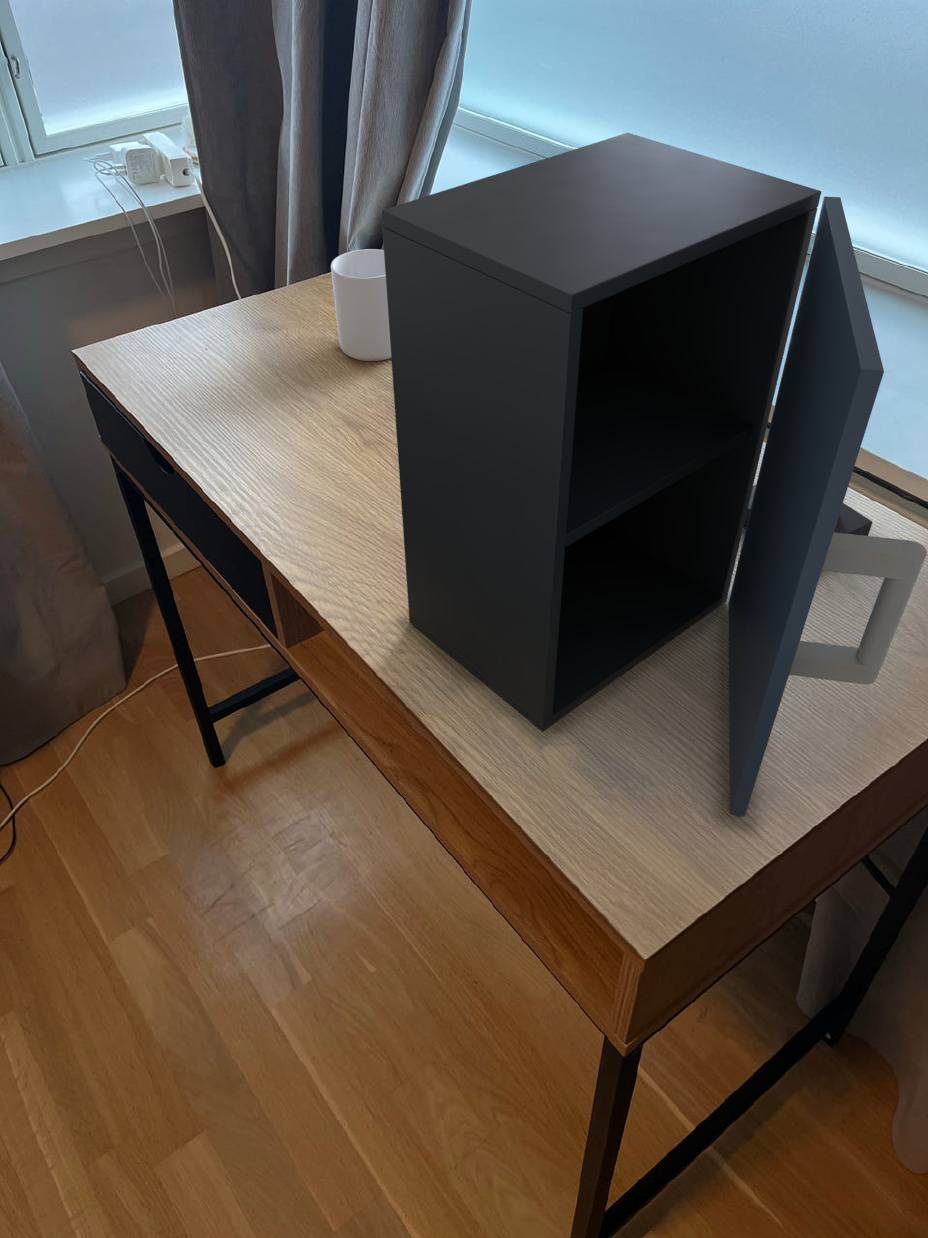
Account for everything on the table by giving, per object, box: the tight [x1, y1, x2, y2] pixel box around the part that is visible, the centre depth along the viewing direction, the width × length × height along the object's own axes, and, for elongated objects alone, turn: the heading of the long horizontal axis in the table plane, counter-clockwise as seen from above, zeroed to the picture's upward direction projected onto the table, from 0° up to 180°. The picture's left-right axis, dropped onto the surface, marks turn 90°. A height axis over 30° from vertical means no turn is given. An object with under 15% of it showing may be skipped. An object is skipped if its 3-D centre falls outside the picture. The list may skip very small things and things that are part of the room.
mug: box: [330, 248, 391, 362], centre depth 115 cm, size 12×8×10 cm
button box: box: [743, 484, 874, 536], centre depth 89 cm, size 10×8×4 cm
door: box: [727, 195, 928, 817], centre depth 62 cm, size 7×22×34 cm, turn 169°
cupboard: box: [380, 132, 822, 732], centre depth 70 cm, size 16×22×34 cm
